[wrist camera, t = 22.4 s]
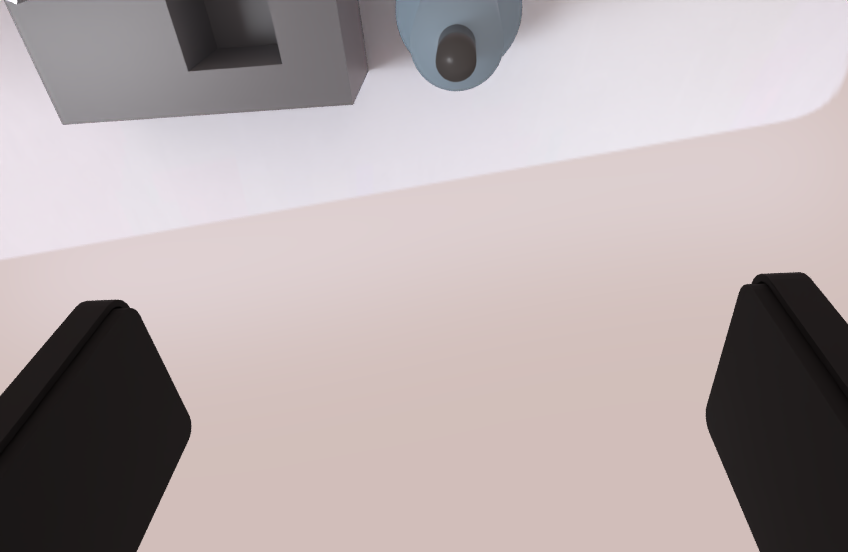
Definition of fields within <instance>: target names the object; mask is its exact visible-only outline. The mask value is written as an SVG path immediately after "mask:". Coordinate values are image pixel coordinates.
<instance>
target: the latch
mask: <svg viewBox="0 0 848 552" xmlns="http://www.w3.org/2000/svg"><path fill="white" fill-rule="evenodd" d="M9 1H11V2H13V3H15V4H19V3H22V2H25V1H28V0H9Z"/></svg>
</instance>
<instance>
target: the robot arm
mask: <svg viewBox="0 0 848 552" xmlns="http://www.w3.org/2000/svg"><path fill="white" fill-rule="evenodd" d="M706 422H707V427H708V430H709V433H710V435H711V438H712V440H713V442H714V445H715V447H716V449H717V452H718V454H719V456H720V459H721V461H722V464H723V466H724V468H725V470H726V473H727V475H728V478H729V480H730V482H731V485H732V487H733V489H734V492H735V494H736V497H737V499H738V501H739V503H740V506H741V508H742V511H743V513H744V515H745V518H746V520H747V522H748V524H749V527H750V530H751V532H752V534H753V537H754V539H755V541H756V544H757V546H758V548H759V551H760V552H848V324H847V323H846V321H845V320H844V319H843V318H842V317H841V315H840V314H839V313H838V312H837V310H836V309H835V308H834V307H833V305H832V304H831V303H830V302H829V301H828V299H827V298H826V297H825V296H824V294H823V293H822V292H821V291H820V289H819V288H818V287H817V286H816V285H815V284H814V282H813V281H812V280H811V278H810V277H808V276H807V275H806V274H804V273H801V272H795V273H771V274H759V275H757V276H756V277H755V278H754V279H753V282H752V284H746V285H743V287H742V288H741V289H740V292H739V295H738V298H737V302H736V305H735V309H734V312H733V316H732V319H731V323H730V326H729V330H728V333H727V337H726V340H725V344H724V347H723V351H722V354H721V358H720V361H719V365H718V368H717V372H716V375H715V379H714V382H713V386H712V389H711V393H710V396H709V399H708V403H707V407H706ZM190 434H191V419H190V416H189V414H188V412H187V410H186V408H185V406H184V404H183V402H182V400H181V398H180V396H179V394H178V392H177V390H176V388H175V386H174V384H173V382H172V380H171V378H170V375H169V373H168V371H167V369H166V367H165V365H164V363H163V361H162V359H161V357H160V355H159V353H158V351H157V349H156V347H155V345H154V343H153V341H152V339H151V337H150V335H149V333H148V331H147V329H146V327H145V325H144V323H143V321H142V319H141V316H140V315H139V313H138V312H137V311H136V310H135V309H133V308H130V307H129V306H128V304H127V303H125V302H124V301H122V300H97V301H85V302H82V303H80V304H79V305H78V306H76V308H75V309H74V310H73V311H72V312H71V313H70V315H69V316H68V317H67V318H66V320H65V321H64V322H63V323H62V324H61V325H60V326H59V328H58V329H57V330H56V331H55V332H54V333H53V335H52V336H51V337H50V338H49V339H48V341H47V342H46V343H45V344H44V345H43V346H42V348H41V349H40V350H39V351H38V352H37V353H36V355H35V356H34V357H33V358H32V359H31V361H30V362H29V363H28V364H27V365H26V367H25V368H24V369H23V370H22V371H21V372H20V373H19V375H18V376H17V377H16V378H15V379H14V381H13V382H12V383H11V384H10V385H9V386H8V388H7V389H6V390H5V391H4V393H2V395H1V396H0V552H137V550H138V547H139V545H140V543H141V541H142V539H143V537H144V535H145V532H146V530H147V528H148V526H149V524H150V522H151V520H152V517H153V515H154V513H155V511H156V509H157V507H158V505H159V502H160V500H161V498H162V496H163V494H164V492H165V489H166V487H167V485H168V483H169V481H170V479H171V477H172V474H173V472H174V470H175V468H176V466H177V464H178V462H179V459H180V457H181V455H182V453H183V451H184V449H185V446H186V444H187V442H188V440H189V437H190Z"/></svg>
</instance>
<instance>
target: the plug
mask: <svg viewBox="0 0 848 552" xmlns="http://www.w3.org/2000/svg"><path fill="white" fill-rule="evenodd" d="M521 16H522V0H396V20H397V26H398V29H399V33H400V36H401V38H402V40H403V42H404V44H405V46H406V47H407V49H408V50H409V52H410V53H411V55H412V59H413V62H414V64H415V66H416V68H417V69H418V71H419V72H420V74H421V75H422V76H423V77H424V78H425V79H426V80H427V81H428V82H430V83H431V84H433V85H435V86H436V87H439V88H441V89H445V90H449V91H463V90H468V89H471V88H474V87H476V86H478V85H480V84H482V83H483V82H484V81H486V80H487V79H488V78H489V77H490V76H491V75H492V74H493V72H494V71H495V70H496V68H497V66H498V65H499V62H500V60H501V57H502V56H503V55H504V54H505V53H506V51H507V50H508V49H509V47H510V46H511V44H512V43H513V41H514V39H515V37H516V34H517V32H518V29H519V26H520V21H521Z"/></svg>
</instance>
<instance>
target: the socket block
mask: <svg viewBox="0 0 848 552" xmlns="http://www.w3.org/2000/svg"><path fill="white" fill-rule="evenodd" d="M4 2H5V4H6V6H7V8H8V10H9V12H10V15H11V17H12V19H13V21H14V23H15V25H16V27H17V29H18V31H19V34H20V36H21V38H22V40H23V42H24V44H25V46H26V48H27V50H28V53H29V55H30V57H31V59H32V61H33V63H34V65H35V67H36V69H37V72H38V74H39V76H40V78H41V80H42V82H43V84H44V86H45V88H46V91H47V93H48V95H49V97H50V99H51V101H52V103H53V105H54V107H55V110H56V112H57V114H58V116H59V118H60V120H61V122H62V124H63V125H66V124H81V123H95V122H109V121H124V120H138V119H152V118H167V117H181V116H195V115H210V114H224V113H238V112H253V111H267V110H281V109H296V108H310V107H324V106H339V105H353V104H354V101H355V99H356V97H357V95H358V93H359V90H360V88H361V86H362V84H363V82H364V79H365V77H366V75H367V73H368V65H367V58H366V52H365V45H364V38H363V31H362V24H361V17H360V10H359V3H358V0H28V1H25V2H22V3H19V4H15V3H13V2H11V1H9V0H4Z"/></svg>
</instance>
